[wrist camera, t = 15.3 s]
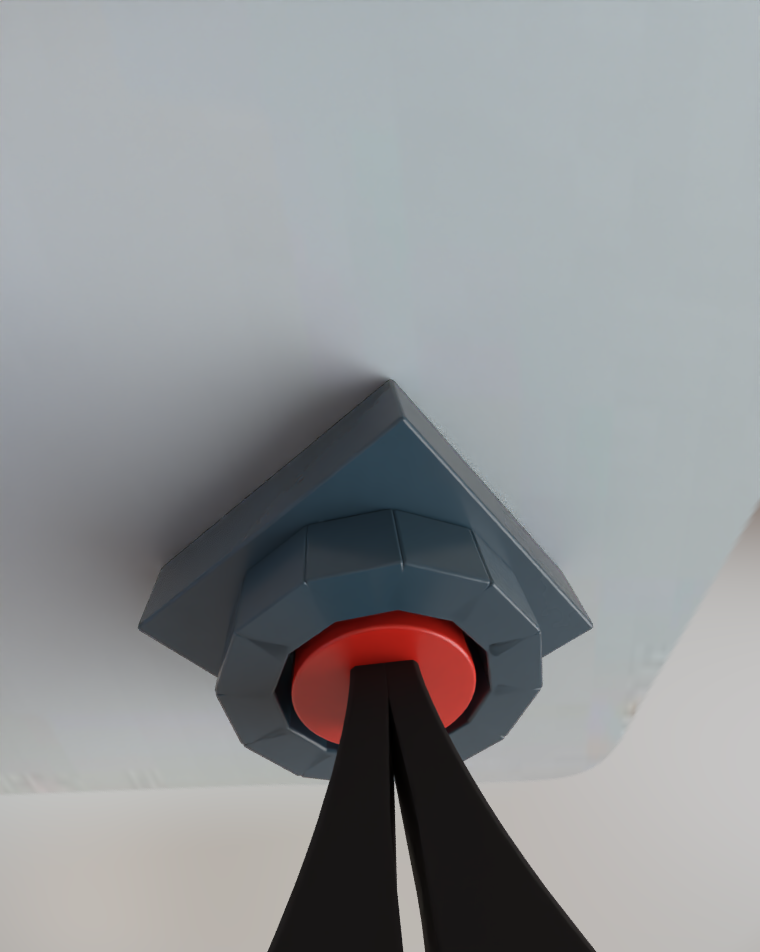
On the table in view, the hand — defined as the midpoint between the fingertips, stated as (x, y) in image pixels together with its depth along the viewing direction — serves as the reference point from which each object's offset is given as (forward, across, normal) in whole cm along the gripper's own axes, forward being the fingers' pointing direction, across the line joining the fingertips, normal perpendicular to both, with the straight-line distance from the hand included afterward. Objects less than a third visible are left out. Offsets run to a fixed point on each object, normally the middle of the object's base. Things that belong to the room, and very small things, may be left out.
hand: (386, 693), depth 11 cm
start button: (+2, 0, 0) cm, 2 cm away
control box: (+4, 0, 0) cm, 4 cm away
